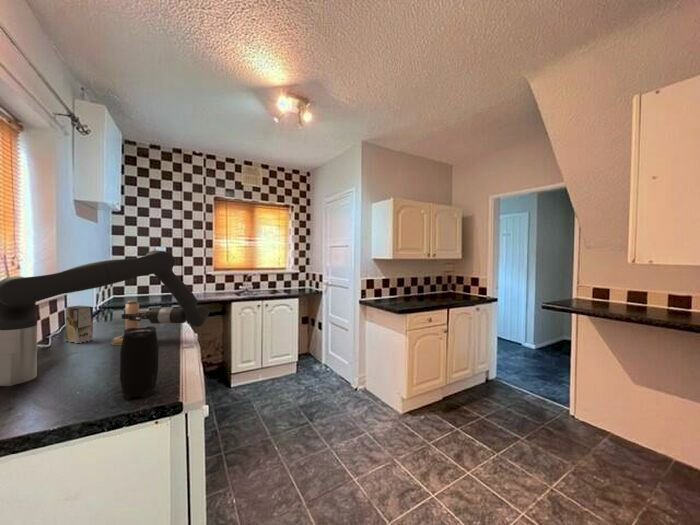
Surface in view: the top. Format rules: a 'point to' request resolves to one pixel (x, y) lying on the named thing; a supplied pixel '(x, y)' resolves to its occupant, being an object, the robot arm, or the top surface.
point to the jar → (131, 308)
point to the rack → (117, 340)
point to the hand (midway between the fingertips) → (126, 315)
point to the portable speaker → (139, 362)
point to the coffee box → (79, 324)
